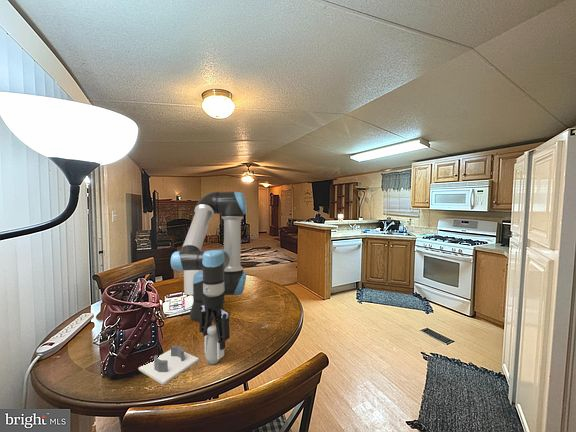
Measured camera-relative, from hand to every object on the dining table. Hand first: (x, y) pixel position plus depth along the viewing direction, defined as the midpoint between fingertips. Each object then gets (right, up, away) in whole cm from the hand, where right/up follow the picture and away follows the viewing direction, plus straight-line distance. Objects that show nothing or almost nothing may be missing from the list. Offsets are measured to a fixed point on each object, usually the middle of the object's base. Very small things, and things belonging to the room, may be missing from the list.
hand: (214, 354), depth 89 cm
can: (-34, +1, +69) cm, 77 cm away
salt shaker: (0, -3, 0) cm, 3 cm away
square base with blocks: (-15, -2, -3) cm, 16 cm away
